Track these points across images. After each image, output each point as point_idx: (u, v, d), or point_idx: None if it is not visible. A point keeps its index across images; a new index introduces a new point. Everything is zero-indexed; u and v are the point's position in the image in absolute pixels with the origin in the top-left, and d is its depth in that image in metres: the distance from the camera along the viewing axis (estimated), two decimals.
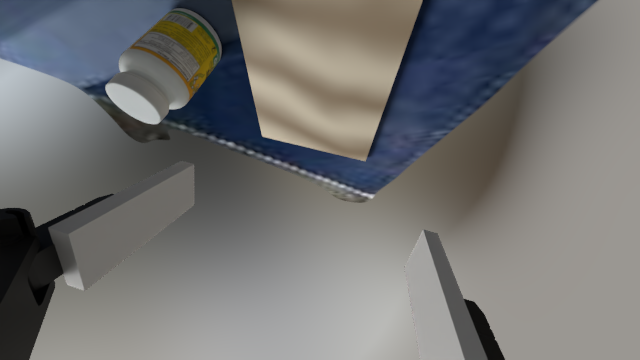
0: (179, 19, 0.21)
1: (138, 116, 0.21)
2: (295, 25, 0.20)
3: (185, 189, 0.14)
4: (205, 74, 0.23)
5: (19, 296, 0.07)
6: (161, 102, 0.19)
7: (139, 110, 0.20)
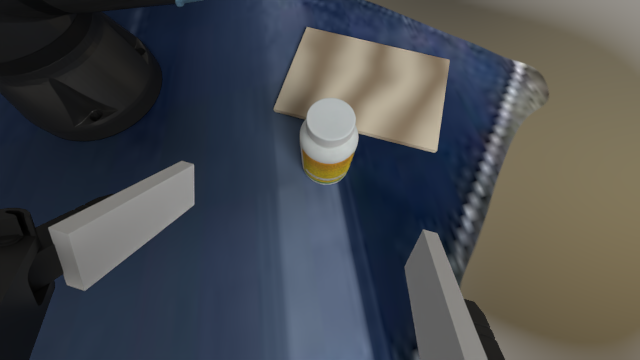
0: None
1: (346, 127, 0.20)
2: (322, 84, 0.32)
3: (185, 189, 0.14)
4: None
5: (19, 296, 0.07)
6: None
7: (337, 117, 0.20)
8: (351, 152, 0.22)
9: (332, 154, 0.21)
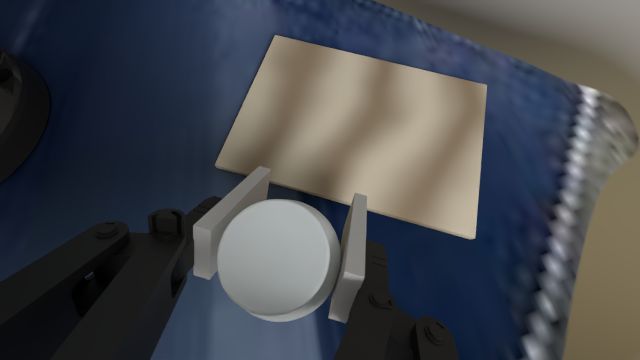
0: None
1: (306, 279, 0.09)
2: (293, 124, 0.21)
3: (263, 191, 0.15)
4: None
5: (162, 290, 0.08)
6: None
7: (287, 252, 0.09)
8: (325, 298, 0.11)
9: None
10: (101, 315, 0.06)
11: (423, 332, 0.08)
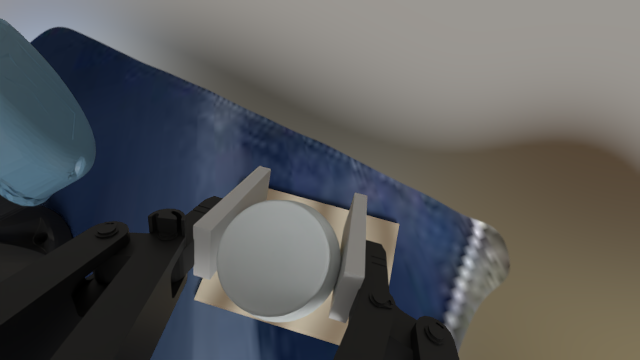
0: None
1: (306, 280, 0.09)
2: None
3: (263, 191, 0.15)
4: None
5: (162, 290, 0.08)
6: None
7: (287, 253, 0.09)
8: (325, 299, 0.11)
9: None
10: (101, 315, 0.06)
11: (423, 332, 0.08)
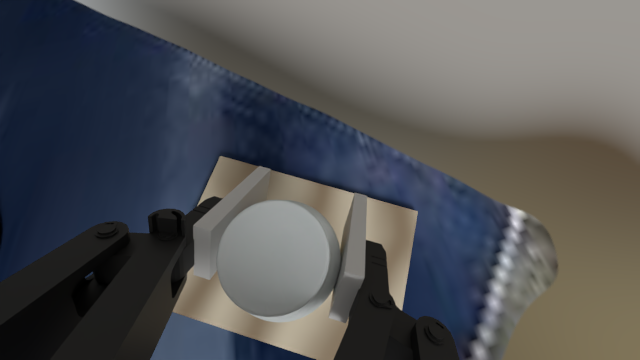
0: None
1: (306, 280, 0.09)
2: None
3: (263, 191, 0.15)
4: None
5: (162, 290, 0.08)
6: None
7: (287, 253, 0.09)
8: (325, 299, 0.11)
9: None
10: (101, 315, 0.06)
11: (423, 332, 0.08)
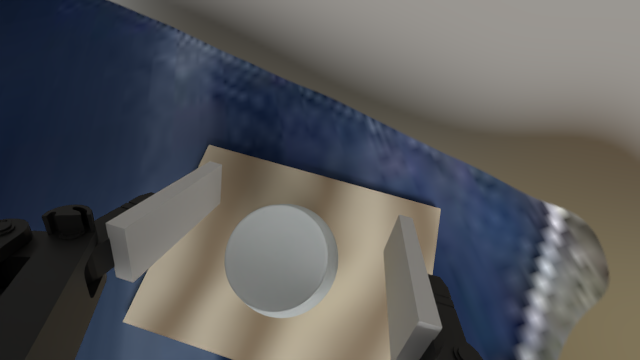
0: None
1: (307, 278, 0.09)
2: (218, 264, 0.18)
3: (214, 188, 0.15)
4: None
5: (75, 289, 0.07)
6: None
7: (289, 253, 0.10)
8: (324, 296, 0.12)
9: None
10: None
11: None
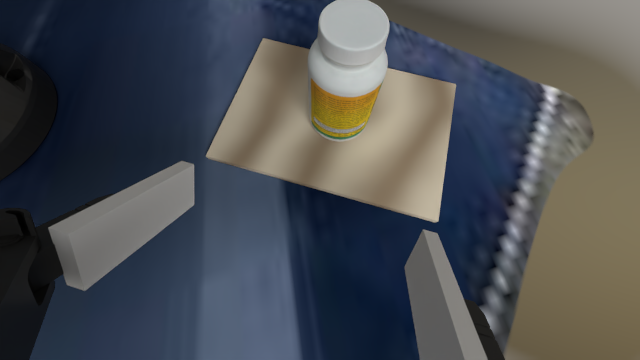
0: None
1: (376, 34, 0.14)
2: (278, 119, 0.23)
3: (185, 189, 0.14)
4: None
5: (19, 296, 0.07)
6: None
7: (363, 22, 0.14)
8: (379, 81, 0.16)
9: (353, 80, 0.15)
10: None
11: None
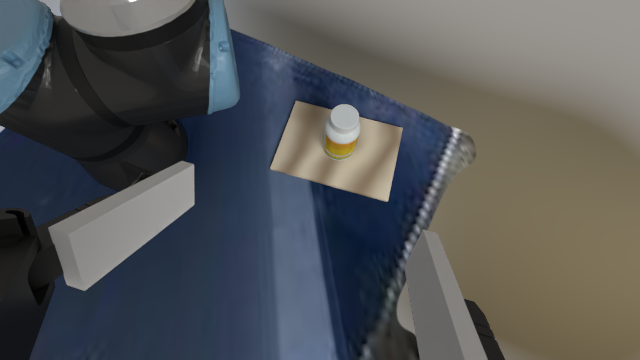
0: None
1: (353, 121, 0.34)
2: (306, 148, 0.43)
3: (185, 189, 0.14)
4: None
5: (19, 296, 0.07)
6: None
7: (348, 116, 0.35)
8: (356, 137, 0.37)
9: (344, 138, 0.36)
10: None
11: None
